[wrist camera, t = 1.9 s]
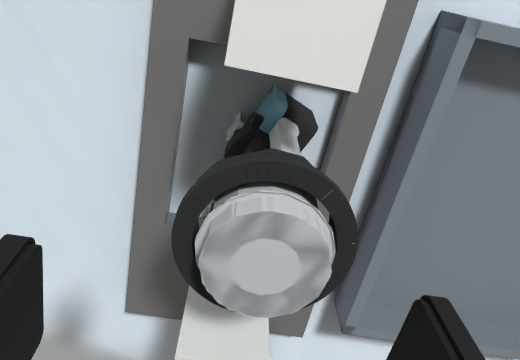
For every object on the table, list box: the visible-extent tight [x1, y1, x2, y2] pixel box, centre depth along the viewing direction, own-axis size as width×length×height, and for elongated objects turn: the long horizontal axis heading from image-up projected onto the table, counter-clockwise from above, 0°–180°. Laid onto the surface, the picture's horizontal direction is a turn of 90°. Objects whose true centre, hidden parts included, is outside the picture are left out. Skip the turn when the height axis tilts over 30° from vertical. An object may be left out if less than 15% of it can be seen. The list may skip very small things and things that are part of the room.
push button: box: [171, 86, 358, 318], centre depth 16 cm, size 7×5×10 cm
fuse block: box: [125, 0, 418, 360], centre depth 17 cm, size 10×21×8 cm, turn 168°
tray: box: [334, 11, 520, 360], centre depth 21 cm, size 13×16×2 cm
